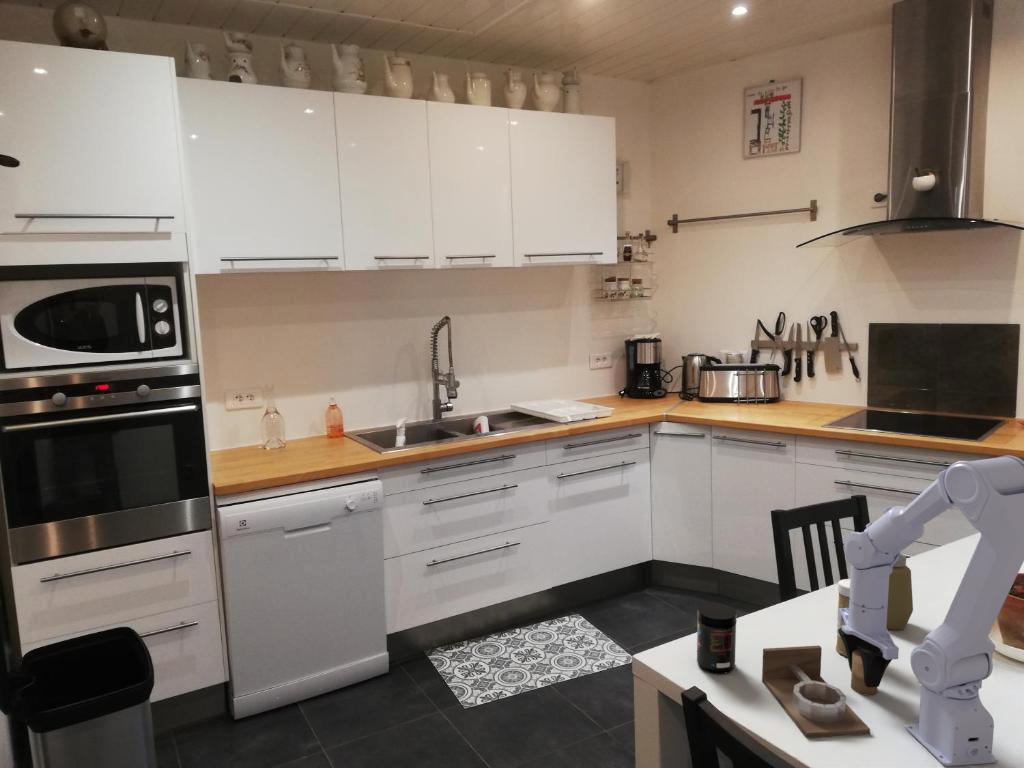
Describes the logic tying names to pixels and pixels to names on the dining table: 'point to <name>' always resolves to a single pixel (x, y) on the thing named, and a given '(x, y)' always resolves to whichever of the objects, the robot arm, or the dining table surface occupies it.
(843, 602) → the sprinkles bottle
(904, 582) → the squeeze bottle
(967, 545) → the dining table surface
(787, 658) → the cup bracket
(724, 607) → the supplement container
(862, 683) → the oak peg
